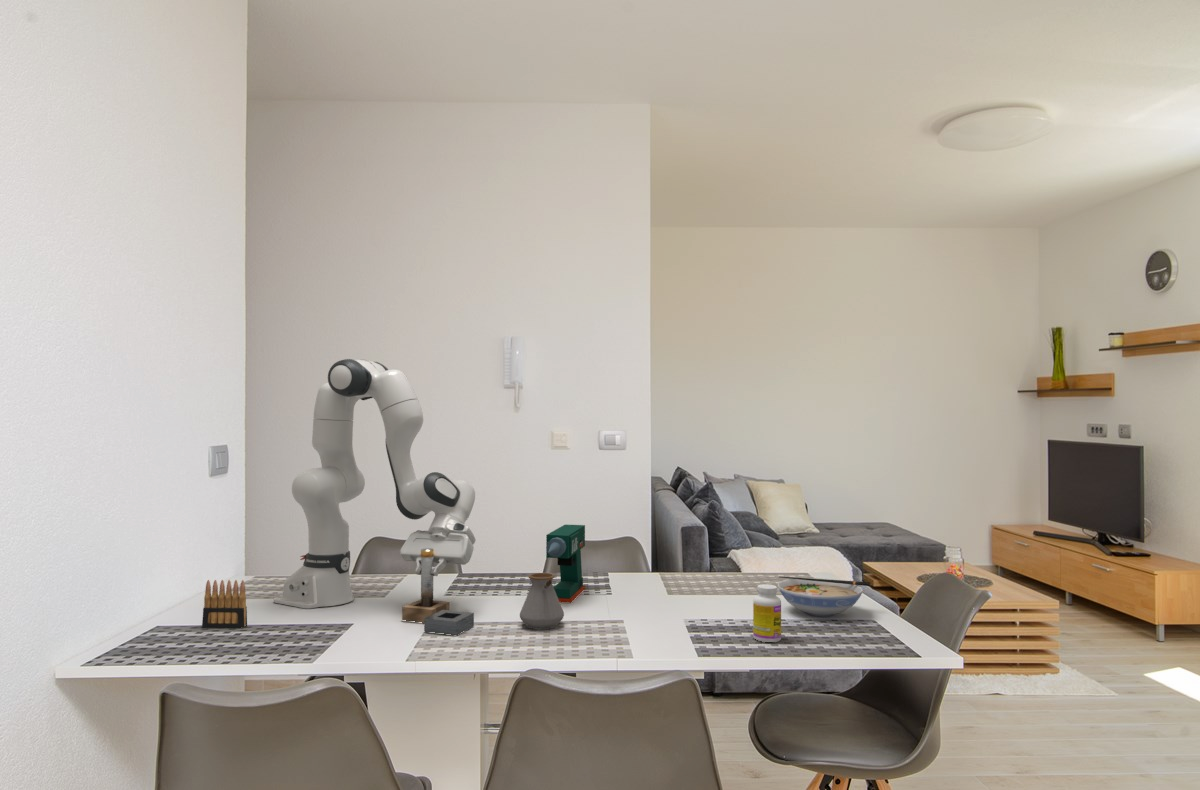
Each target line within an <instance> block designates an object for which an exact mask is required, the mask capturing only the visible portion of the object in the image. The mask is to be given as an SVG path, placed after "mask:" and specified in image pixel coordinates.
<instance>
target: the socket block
mask: <svg viewBox="0 0 1200 790" xmlns="http://www.w3.org/2000/svg"><path fill="white" fill-rule="evenodd" d="M423 625H424V628H423V632H424V631H425V632H435V633H444V634H451V635H457V636H459V635H461V634H462V633H461V632H463V631H465V630H466V631H468V630H470V629H472V628H474V627H473V626H474V625H475V613H474V612H471V611H470V612H468V611H461V610H451V609H450V610H441V611H439V612H437V613H435V614H433V615H431V616H429V617H426V618H424V624H423ZM471 627H472V628H471ZM469 628H470V629H469ZM467 629H468V630H467ZM466 631H465V632H466ZM460 633H461V634H460ZM463 633H464V632H463ZM458 634H459V635H458ZM451 635H450V636H451Z"/></svg>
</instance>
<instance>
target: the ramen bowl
mask: <svg viewBox="0 0 1200 790" xmlns="http://www.w3.org/2000/svg"><path fill="white" fill-rule="evenodd" d="M778 578H780V579H783V580H781V581H778V582H777V588H778V589H779V592H780V593H781V595H782V597H783V598H784V599H785V600H786V602H788V604H790V605H791V606H792V607H794V608H796V609H798V610H800V611H802V612H805V613H806V614H808V615H811V616H814V617H815V616H816V617H831V616H834V615H835V614H838V613H842V612H845V611H847V610H848V609H850V608H852V607H853V606H854V605H855V604H856V603H857V602H858V600H859V599H860V597H862V594H863V592H864V590H863V587H862V586H865V587H870V585H871V581H855V580H843V579H842V580H840V579H831V578H821V577H820V578H819V577H818V578H817V577H793V576H792V577H790V576H778Z"/></svg>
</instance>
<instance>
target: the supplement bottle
mask: <svg viewBox="0 0 1200 790" xmlns="http://www.w3.org/2000/svg"><path fill="white" fill-rule="evenodd" d="M756 589H757V594H756V595H755V597H754V598H753V600H752V601H753V603H752V605H753V606H752V607H753V610H752V611H753V615H752V616H753V620H752V621H753V622H752V626H753V627H752V628H753V629H752V631H753V633H752V634H753V635H752V636H753V639H754V640H755V639H756V640H755V641H757V640H758V641H757V642H760V641H762V642H761V643H765V642H775V643H778V642H780V641H781V639H782V601H781V598H779V596H777V592H778V585H777V586H776V585H774V584H767V583H766V584H764V583H763V584H759V585H757V588H756Z"/></svg>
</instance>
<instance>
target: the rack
mask: <svg viewBox="0 0 1200 790" xmlns="http://www.w3.org/2000/svg"><path fill="white" fill-rule="evenodd" d="M401 609H402V610H401V621H402V620H406V621H415V622H422V623H424V618H426V617H429V616H431V615H433V614H435V613H437V612H439V611H441V610H451V601H445V600H434V599H433V606H432V607H421V598H420V599H418V600H415V601H412V602H411V603H408V604H405V605H403V606H402V608H401Z"/></svg>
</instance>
